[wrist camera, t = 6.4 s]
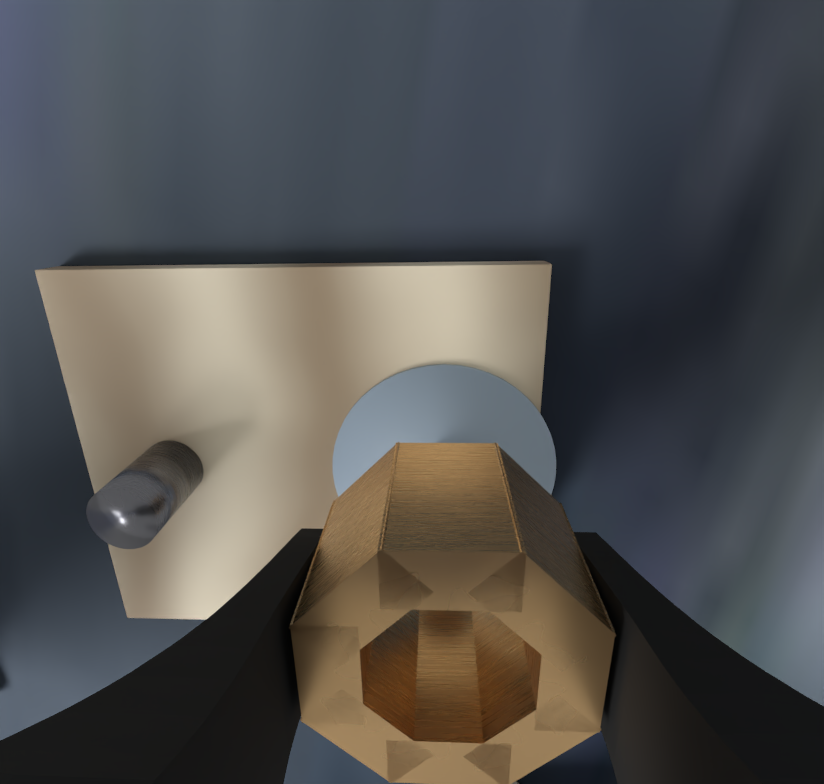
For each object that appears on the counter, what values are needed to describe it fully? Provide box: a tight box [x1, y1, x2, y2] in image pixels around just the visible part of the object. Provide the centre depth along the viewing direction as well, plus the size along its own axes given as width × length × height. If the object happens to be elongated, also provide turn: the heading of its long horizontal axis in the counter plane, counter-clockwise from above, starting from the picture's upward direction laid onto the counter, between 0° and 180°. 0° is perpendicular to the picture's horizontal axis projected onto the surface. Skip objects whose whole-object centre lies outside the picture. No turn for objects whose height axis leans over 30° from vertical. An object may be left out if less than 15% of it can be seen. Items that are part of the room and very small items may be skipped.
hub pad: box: [333, 364, 556, 497], centre depth 16 cm, size 7×7×1 cm
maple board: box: [35, 261, 552, 620], centre depth 17 cm, size 15×13×1 cm
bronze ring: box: [289, 442, 617, 784], centre depth 11 cm, size 6×6×4 cm
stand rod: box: [86, 440, 204, 549], centre depth 16 cm, size 2×2×3 cm
